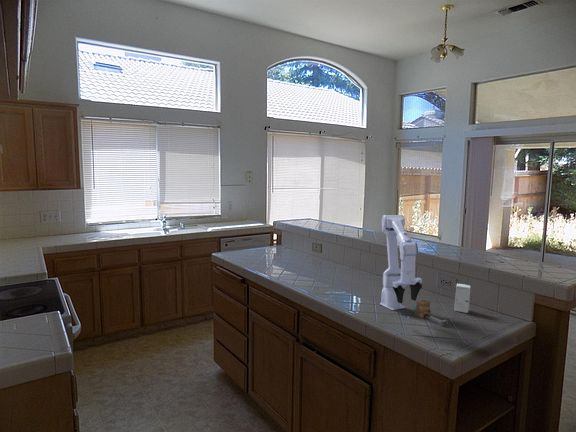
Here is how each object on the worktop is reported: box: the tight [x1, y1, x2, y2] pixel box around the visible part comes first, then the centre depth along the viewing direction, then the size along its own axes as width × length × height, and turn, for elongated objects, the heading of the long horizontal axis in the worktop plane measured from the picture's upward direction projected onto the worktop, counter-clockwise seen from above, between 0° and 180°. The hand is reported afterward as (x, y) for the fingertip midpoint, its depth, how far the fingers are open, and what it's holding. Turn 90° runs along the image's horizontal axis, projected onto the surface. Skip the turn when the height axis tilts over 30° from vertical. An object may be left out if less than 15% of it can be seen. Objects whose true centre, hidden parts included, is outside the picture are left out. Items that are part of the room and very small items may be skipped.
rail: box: [413, 304, 448, 327], centre depth 169 cm, size 16×3×4 cm, turn 26°
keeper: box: [414, 299, 431, 319], centre depth 173 cm, size 4×5×6 cm
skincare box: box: [453, 283, 472, 314], centre depth 179 cm, size 6×4×12 cm
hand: (406, 301), depth 165 cm, fingers open, 7 cm apart
